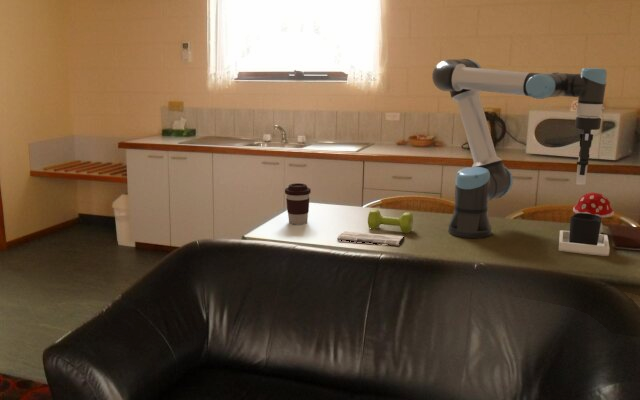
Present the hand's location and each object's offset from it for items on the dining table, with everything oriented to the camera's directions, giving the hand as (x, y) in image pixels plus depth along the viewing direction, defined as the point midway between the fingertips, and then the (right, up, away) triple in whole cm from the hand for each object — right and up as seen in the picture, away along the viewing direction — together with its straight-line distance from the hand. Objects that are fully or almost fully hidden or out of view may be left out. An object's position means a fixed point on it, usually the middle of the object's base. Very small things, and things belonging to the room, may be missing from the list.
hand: (580, 180), depth 196 cm
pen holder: (+2, -22, +2) cm, 22 cm away
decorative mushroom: (+12, -19, +18) cm, 29 cm away
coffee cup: (-96, -16, +33) cm, 102 cm away
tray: (+2, -22, +2) cm, 23 cm away
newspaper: (-69, -21, +11) cm, 73 cm away
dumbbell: (-61, -18, +23) cm, 67 cm away
